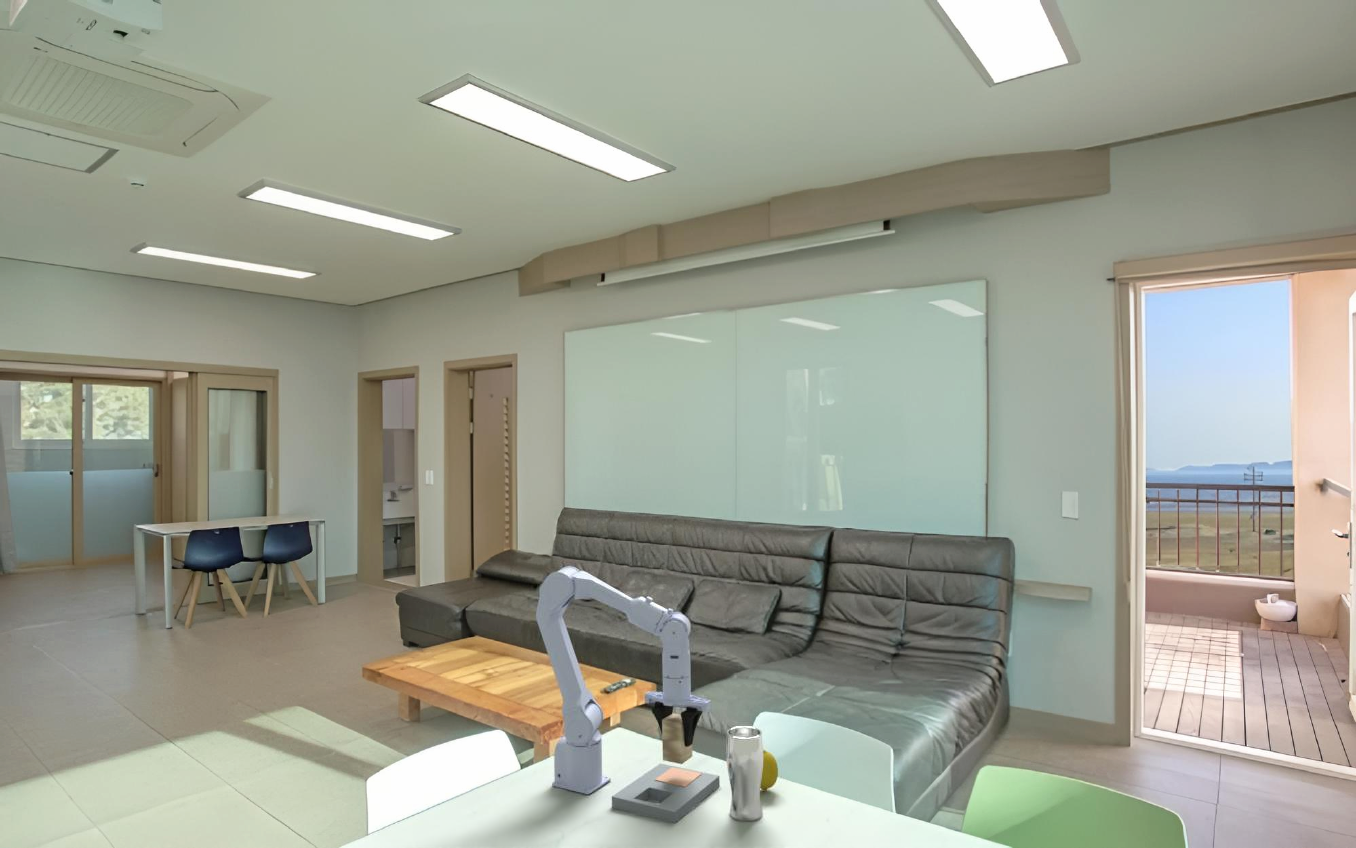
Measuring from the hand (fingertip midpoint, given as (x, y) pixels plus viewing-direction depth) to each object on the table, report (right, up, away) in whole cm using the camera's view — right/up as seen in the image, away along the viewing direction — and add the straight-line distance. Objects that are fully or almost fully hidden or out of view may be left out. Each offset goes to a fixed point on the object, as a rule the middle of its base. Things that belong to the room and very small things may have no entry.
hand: (677, 743), depth 153 cm
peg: (0, -3, 0) cm, 3 cm away
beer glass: (+13, -8, -13) cm, 20 cm away
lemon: (+17, -9, -3) cm, 20 cm away
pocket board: (-2, -9, -4) cm, 10 cm away
